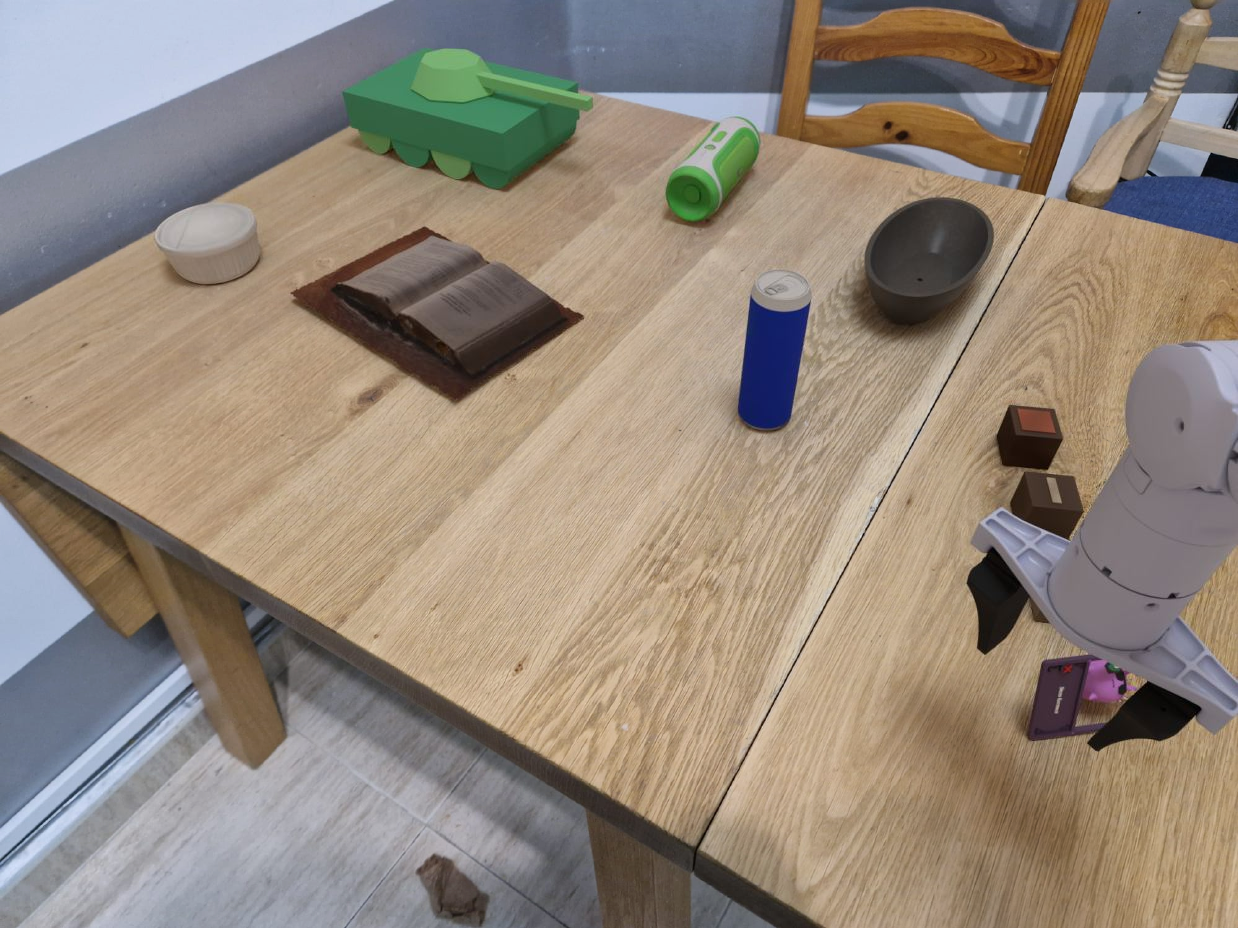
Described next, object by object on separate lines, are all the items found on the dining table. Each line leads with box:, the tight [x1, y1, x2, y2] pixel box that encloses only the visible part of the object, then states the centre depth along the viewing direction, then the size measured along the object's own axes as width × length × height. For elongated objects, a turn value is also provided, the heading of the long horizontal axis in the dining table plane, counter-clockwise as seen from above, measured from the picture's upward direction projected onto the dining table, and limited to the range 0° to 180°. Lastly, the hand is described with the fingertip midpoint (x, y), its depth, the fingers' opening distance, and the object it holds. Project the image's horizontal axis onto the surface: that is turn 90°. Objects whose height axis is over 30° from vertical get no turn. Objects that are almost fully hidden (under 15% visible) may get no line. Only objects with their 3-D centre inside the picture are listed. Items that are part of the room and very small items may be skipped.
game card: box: [1026, 653, 1138, 741], centre depth 60 cm, size 7×5×9 cm
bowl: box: [863, 196, 995, 326], centre depth 96 cm, size 12×22×6 cm, turn 148°
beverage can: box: [737, 268, 813, 431], centre depth 78 cm, size 5×5×15 cm
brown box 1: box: [995, 404, 1064, 471], centre depth 78 cm, size 4×4×4 cm
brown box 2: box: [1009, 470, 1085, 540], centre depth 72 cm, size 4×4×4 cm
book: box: [289, 226, 585, 401], centre depth 96 cm, size 20×28×4 cm
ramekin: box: [153, 201, 261, 285], centre depth 102 cm, size 11×11×5 cm
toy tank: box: [341, 47, 594, 190], centre depth 119 cm, size 18×12×35 cm
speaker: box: [665, 116, 761, 223], centre depth 111 cm, size 18×7×8 cm, turn 154°
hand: (1044, 688), depth 51 cm, fingers open, 7 cm apart
